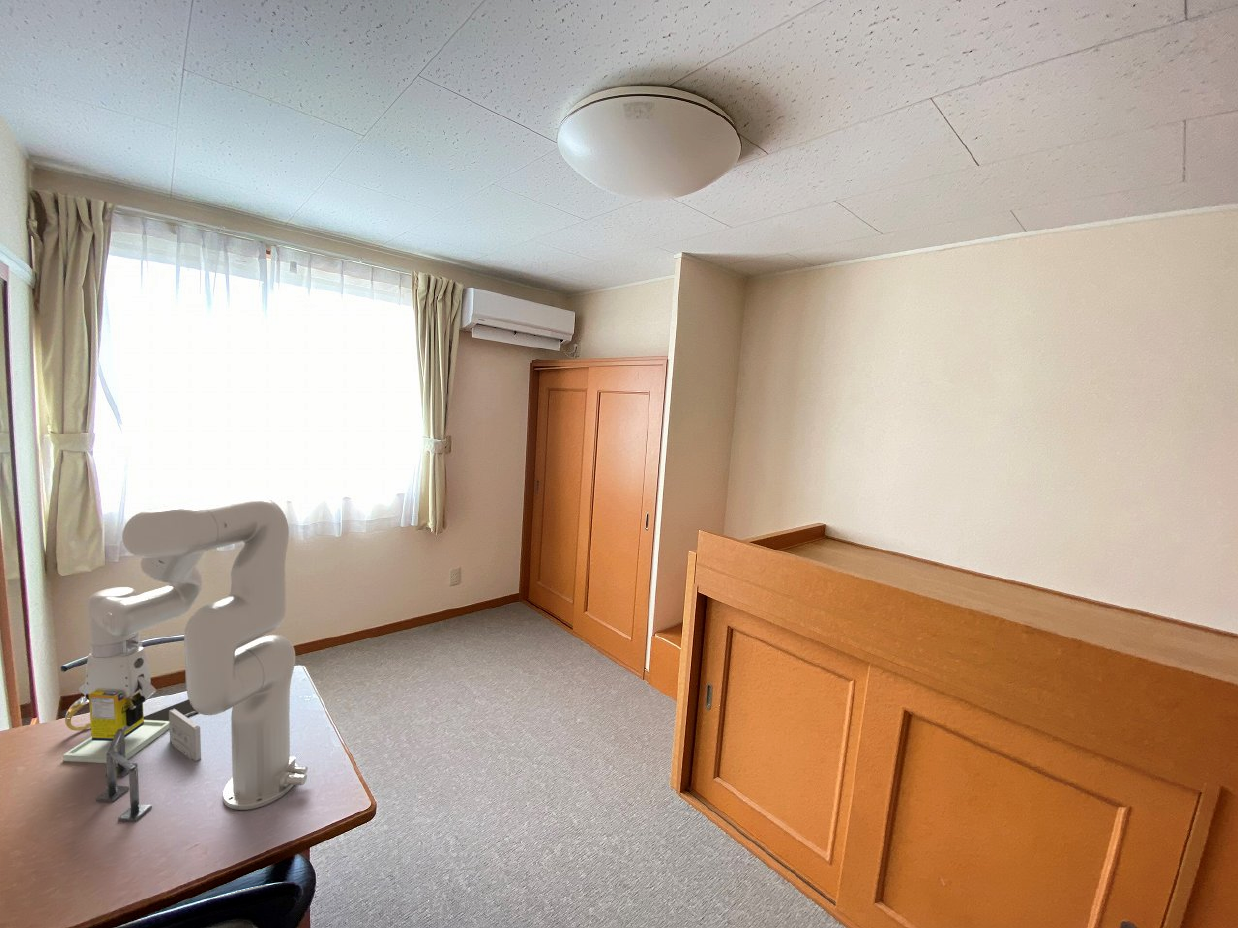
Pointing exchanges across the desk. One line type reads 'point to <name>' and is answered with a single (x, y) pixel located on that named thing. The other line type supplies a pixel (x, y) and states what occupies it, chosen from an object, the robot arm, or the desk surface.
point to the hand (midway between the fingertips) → (119, 720)
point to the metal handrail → (120, 771)
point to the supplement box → (109, 715)
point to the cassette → (185, 735)
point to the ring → (73, 710)
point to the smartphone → (163, 714)
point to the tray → (133, 744)
